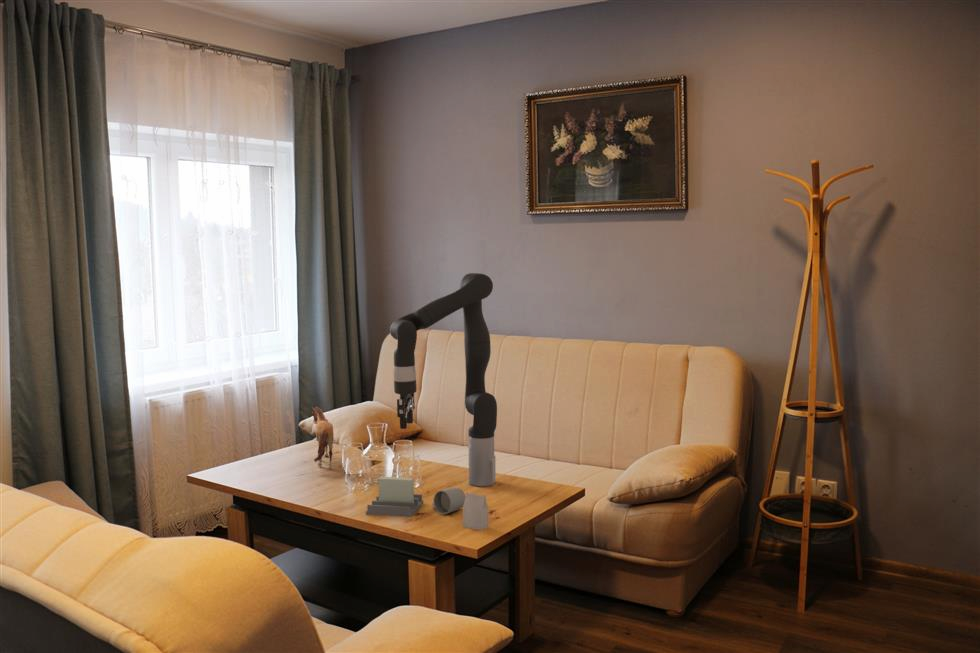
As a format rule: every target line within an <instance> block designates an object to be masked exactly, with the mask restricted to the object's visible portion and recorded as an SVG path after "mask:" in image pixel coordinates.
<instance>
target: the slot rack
mask: <svg viewBox="0 0 980 653" xmlns="http://www.w3.org/2000/svg"><path fill="white" fill-rule="evenodd" d="M375 499H376V500H371V504H367V510H366V511H365V515H367V514H369V515H371V516H385V515H389V516H388V517H391V516H392V517H406V518H408V517H409V518H412V517H413V516H415V514H416V512H418V510H419V509H420V508H421V507H422V506H423V505H424V500H423V494H419V493H414V503H412V502H393V501H379V495H377V496H375ZM369 515H368V516H369Z"/></svg>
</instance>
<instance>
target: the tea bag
mask: <svg viewBox="0 0 980 653" xmlns="http://www.w3.org/2000/svg"><path fill="white" fill-rule="evenodd" d="M462 527H464V528H467V527H468V528H467V529H472V530H477V529H478V531H481V530H482V531H483V529H484V530H486V529H487V528H489V506H488V503H487V499H486V495H482V494H476V493H471V492H465V501H464V505H463V507H462ZM485 528H486V529H485Z"/></svg>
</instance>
